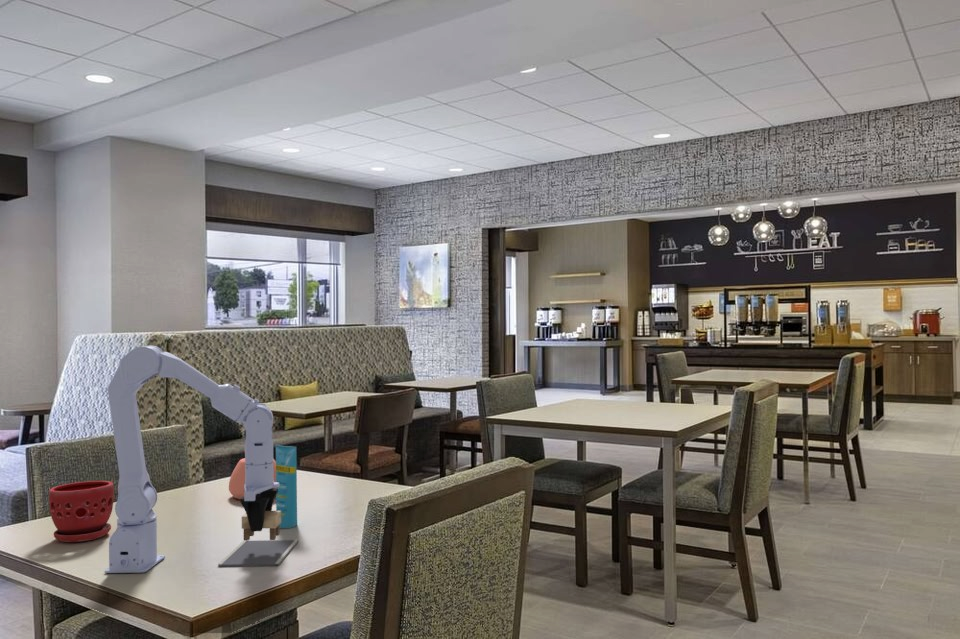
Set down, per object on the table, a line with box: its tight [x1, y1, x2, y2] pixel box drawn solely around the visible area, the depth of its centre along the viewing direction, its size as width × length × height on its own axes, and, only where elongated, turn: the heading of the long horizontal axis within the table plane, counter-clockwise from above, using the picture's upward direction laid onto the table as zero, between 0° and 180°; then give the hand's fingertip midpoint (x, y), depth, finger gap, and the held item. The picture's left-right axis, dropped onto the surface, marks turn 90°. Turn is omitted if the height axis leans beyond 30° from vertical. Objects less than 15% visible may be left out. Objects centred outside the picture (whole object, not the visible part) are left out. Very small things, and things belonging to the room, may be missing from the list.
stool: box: [241, 510, 281, 541], centre depth 154 cm, size 7×4×5 cm, turn 91°
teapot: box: [228, 448, 276, 500], centre depth 207 cm, size 22×15×12 cm
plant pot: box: [48, 480, 115, 543], centre depth 168 cm, size 13×13×12 cm
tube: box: [275, 444, 298, 529], centre depth 175 cm, size 7×5×19 cm, turn 60°
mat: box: [217, 539, 299, 568], centre depth 154 cm, size 16×12×1 cm
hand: (260, 527), depth 154 cm, fingers closed on stool, 4 cm apart
